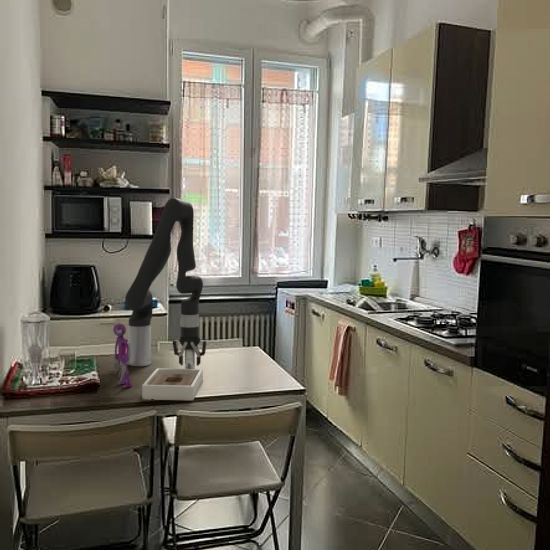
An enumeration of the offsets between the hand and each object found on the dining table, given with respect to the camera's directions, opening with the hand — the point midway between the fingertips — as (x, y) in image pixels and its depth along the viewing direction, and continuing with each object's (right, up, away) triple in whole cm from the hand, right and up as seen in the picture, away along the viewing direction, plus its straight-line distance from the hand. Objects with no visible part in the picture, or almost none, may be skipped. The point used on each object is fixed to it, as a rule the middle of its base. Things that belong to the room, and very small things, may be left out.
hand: (189, 365), depth 232 cm
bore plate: (-3, -6, -21) cm, 22 cm away
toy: (-24, -5, -18) cm, 30 cm away
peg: (0, -4, 0) cm, 4 cm away
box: (-3, -6, -21) cm, 22 cm away
